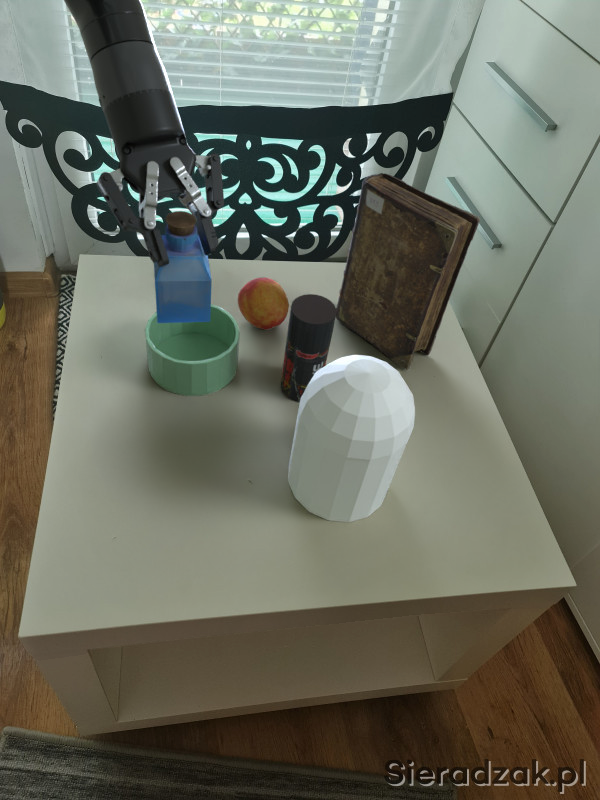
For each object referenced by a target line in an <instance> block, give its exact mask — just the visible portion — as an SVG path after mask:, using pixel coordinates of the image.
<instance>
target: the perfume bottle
mask: <svg viewBox="0 0 600 800" xmlns="http://www.w3.org/2000/svg"><path fill="white" fill-rule="evenodd" d="M165 220H166V225H165V226H164V234H161V237H162V240H163V243H164V246H165V249H166V252H167V255H168V258H169V264H168V265H166V266H162V267H159V266H158V263H157V262H155V263H153V275H154V290H155V305H156V306H155V307H156V311H157V323H180V322H210V316H211V304H212V275H211V268H210V260H209V255H207V256H206V255H205V254H204V251H203V248H202V245H201V242H200V238H199V235H198V232H197V227H196V226H195V224H196V223H197V220H196V218H195V217H194V216H193V215H192V214H191V212H187V211H183V210H179V211H172V212H170V213H168V214H167V216H166V218H165Z"/></svg>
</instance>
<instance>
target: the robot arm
mask: <svg viewBox="0 0 600 800" xmlns="http://www.w3.org/2000/svg"><path fill="white" fill-rule="evenodd" d="M63 1H64V3H65V5H66V7H67V9H68V10H69V12H70V14H71V16H72V17H73V19H74V21H75V23H76V25H77V28H78V29H79V33H80V36H81V39H82V43H83V46H84V48H85V51H86V55H87V58H88V61H89V64H90V67H91V70H92V76H93V81H94V86H95V90H96V94H97V96H98V103H99V105H100V108H101V110H102V112H103V114H104V117H105V120H106V123H107V126H108V129H109V130H108V131H109V132H110V135H111V138H112V142H113V144H114V145H113V146H114V148H115V151H116V154H117V156H118V167H117V169H115V170H113V171H110V172H107V171H104V172H101V174H100V175H99V177H98V179H97V181H96V187H97V189H98V191H99V193H100V194H101V196H102V197H103V199H104V201H105V203H106V204H107V205H108V207H109V209H110V211H111V212H112V215H114V217H115V219H116V221H117V222H118V225H119V226H120V227H121V229H122V230H123V231H124V232H127V233H128V232H135V233H139V234H140V235H141V236H142V237H143V241H144V244H145V246H146V249H147V252H148V255H149V258H150V260H151V261H152V263H153V264H154V263H155V262H157V263H158V266H159V267H162V266H166V265H168V264H169V258H168V255H167V252H166V249H165V246H164V243H163V240H162V237H161V236H162V233H161V231H160V228H157V227H156V225H157V207H158V202H159V201H162V200H164V199H165V198H167V199H175V198H178V200H179V201H180V202H181V204H182V205H183V206H184V207H186V208H187V210H188V211H189V213H190V214H192V215H193V216H194V217H195V218H196V223H195V226H196V227H197V235H198V236H199V238H200V242H201V245H202V248H203V251H204V254H205V255H206V256H207V255H208V256H210V255H214V254H215V253H216V252H217V247H219V239H218V236H217V232H216V229H215V228H216V227H215V225H214V221H213V219H212V217H213V214H215V213H217V212H218V211H219V210H220V209H222V208H223V207H224V206H225V195H224V194H225V193H224V186H223V185H224V184H223V182H224V181H223V173H222V171H223V170H222V162H221V161H222V160H221V156H220V155H219V153H216V152H212V153H211V154H210V155H202V154H201V155H200V154H196V153H195V152H194V150H193V149H192V148H191V146H190V145H189V144H188V141H187V137H186V132H185V129H184V126H183V123H182V119H181V116H180V113H179V110H178V107H177V103H176V100H175V97H174V93H173V90H172V87H171V84H170V80H169V77H168V74H167V72H166V68H165V66H164V64H163V62H162V60H161V58H160V57H161V56H160V55H159V52H158V49H157V46H156V43H155V40H154V37H153V33H152V30H151V27H150V24H149V21H148V18H147V14H146V11H145V9H144V8H145V7H144V5H143V3H142V1H141V0H63ZM195 168H197V169H198V171H199V175H200V176H201V177H203V178H204V187H205V188H204V189H205V198H206V199H205V198H204V197H203V195H202V192H201V189H200V188H199V187H198V185H197V183H195V181H194V180H193V178H192V177H193V173H194V170H195ZM122 180H123V181H124V182H125V183H127V184H128V185H129V186H130V187H132V188H133V189H134V190H135V191H136V192H137V193H138V212H139V217H138V216H136V215H135V213H134V211H133V210H132V208H131V206H130V205H129V203H128V201H127V199H126V198H125V196H124V194H123V193H122V190H123V189H124V185H123V182H122Z"/></svg>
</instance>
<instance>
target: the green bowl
mask: <svg viewBox="0 0 600 800" xmlns="http://www.w3.org/2000/svg"><path fill="white" fill-rule="evenodd" d="M146 322H147V323H146V325H145V328H144V337H145V347H146V357H147V367H148V371H149V374H150V376H151V378H152V379H153V381H154V382H155V383H156V384H157V385H158V386H160V387H161V388H162V389H164V390H166V391H168V392H170V393H173V394H176V395H180V396H185V397H186V396H187V397H199V396H205V395H210V394H213V393H216V392H218V391H220V390H221V389H223V388H225V387H227V386H228V384H229V383H230V382H231V381H232V380H234V378H235V376H236V373H237V370H238V364H239V351H240V333H241V332H240V329H239V324H238V322H237V320H235V318H234V317H233V315H232V314H231V313H230V312H229V311H226V310H225V309H223V308H222V307H220V306H218V305H215V304H212V303H211V316H210V322H180V323H157V310H156V311H155V312H154V313H153V314H152V316H150V318H149V319H148V320H147V321H146Z"/></svg>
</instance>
